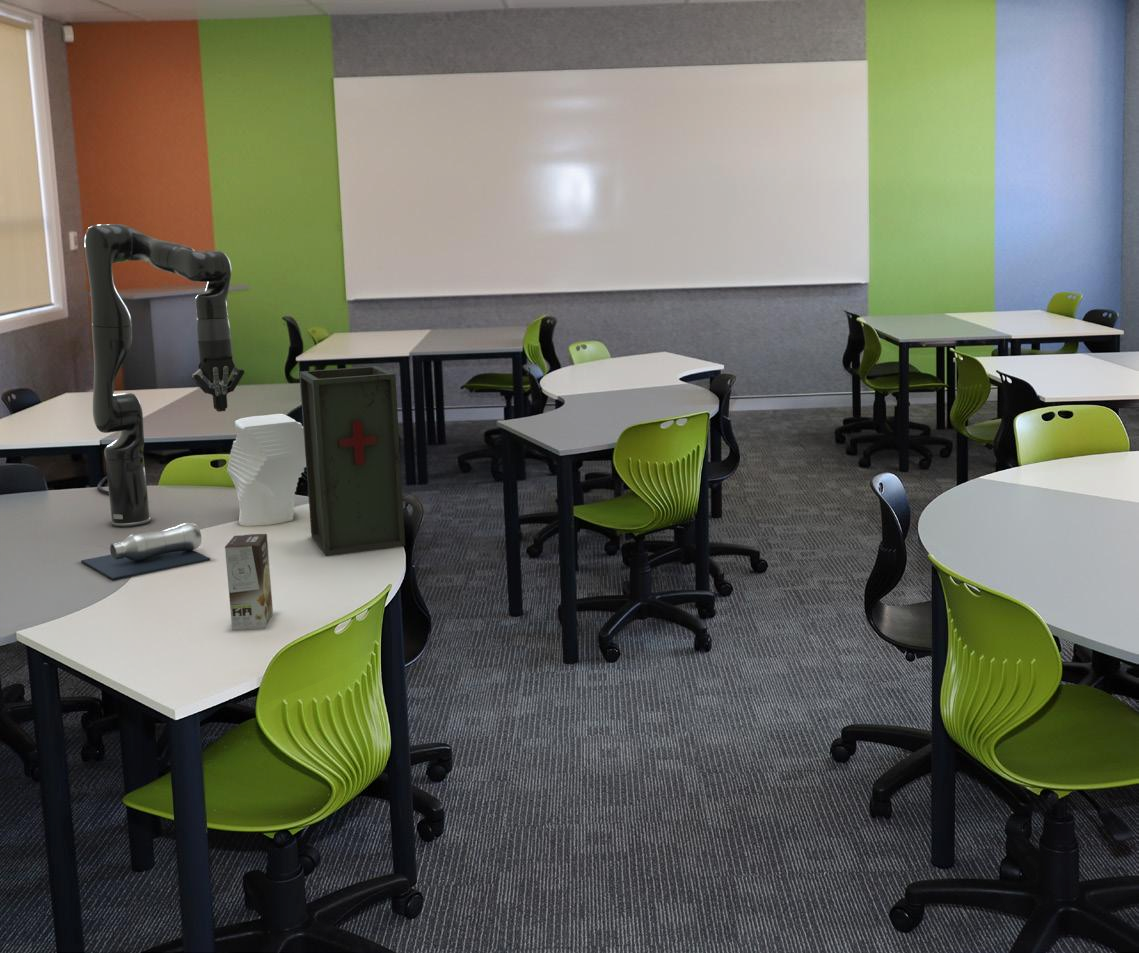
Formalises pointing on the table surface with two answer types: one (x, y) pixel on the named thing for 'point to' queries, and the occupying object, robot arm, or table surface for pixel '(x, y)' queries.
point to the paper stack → (267, 467)
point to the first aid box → (352, 459)
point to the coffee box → (249, 581)
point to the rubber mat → (142, 564)
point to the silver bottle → (157, 542)
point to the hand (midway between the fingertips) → (220, 411)
